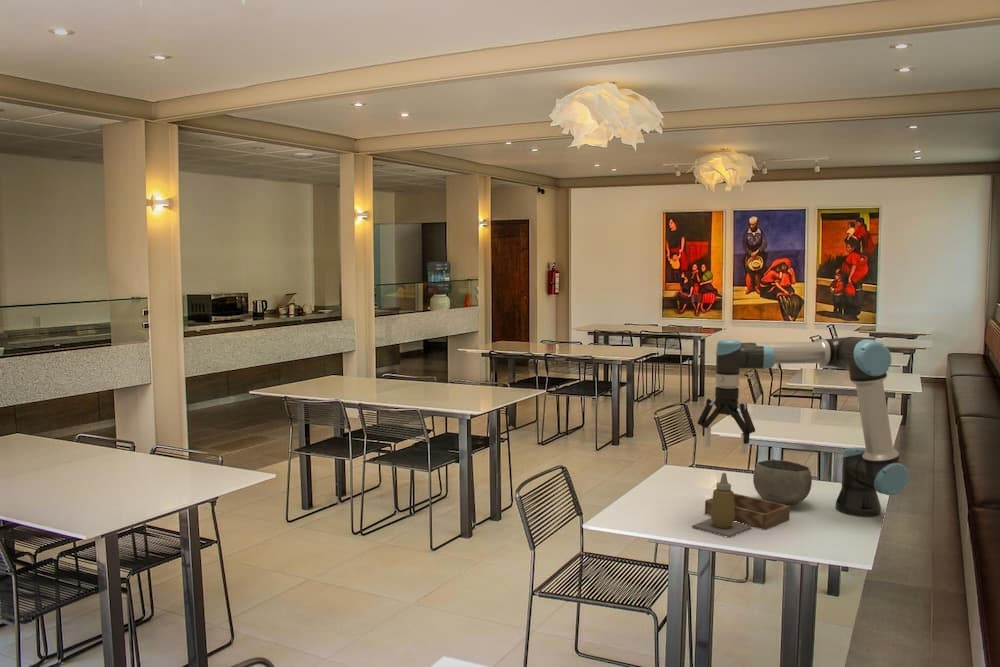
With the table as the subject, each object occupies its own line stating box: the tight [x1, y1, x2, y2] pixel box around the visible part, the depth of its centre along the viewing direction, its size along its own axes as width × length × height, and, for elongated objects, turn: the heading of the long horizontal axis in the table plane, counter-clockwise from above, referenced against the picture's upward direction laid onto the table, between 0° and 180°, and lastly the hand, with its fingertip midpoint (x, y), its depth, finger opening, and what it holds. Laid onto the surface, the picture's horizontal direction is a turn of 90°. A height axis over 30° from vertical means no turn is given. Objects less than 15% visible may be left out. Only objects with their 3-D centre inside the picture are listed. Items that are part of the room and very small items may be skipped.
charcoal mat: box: [691, 518, 752, 538], centre depth 278 cm, size 14×14×1 cm
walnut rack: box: [704, 493, 791, 531], centre depth 291 cm, size 23×16×5 cm
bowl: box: [752, 459, 813, 506], centre depth 308 cm, size 20×20×15 cm
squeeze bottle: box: [709, 472, 735, 528], centre depth 277 cm, size 8×8×18 cm
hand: (725, 449), depth 276 cm, fingers open, 13 cm apart
